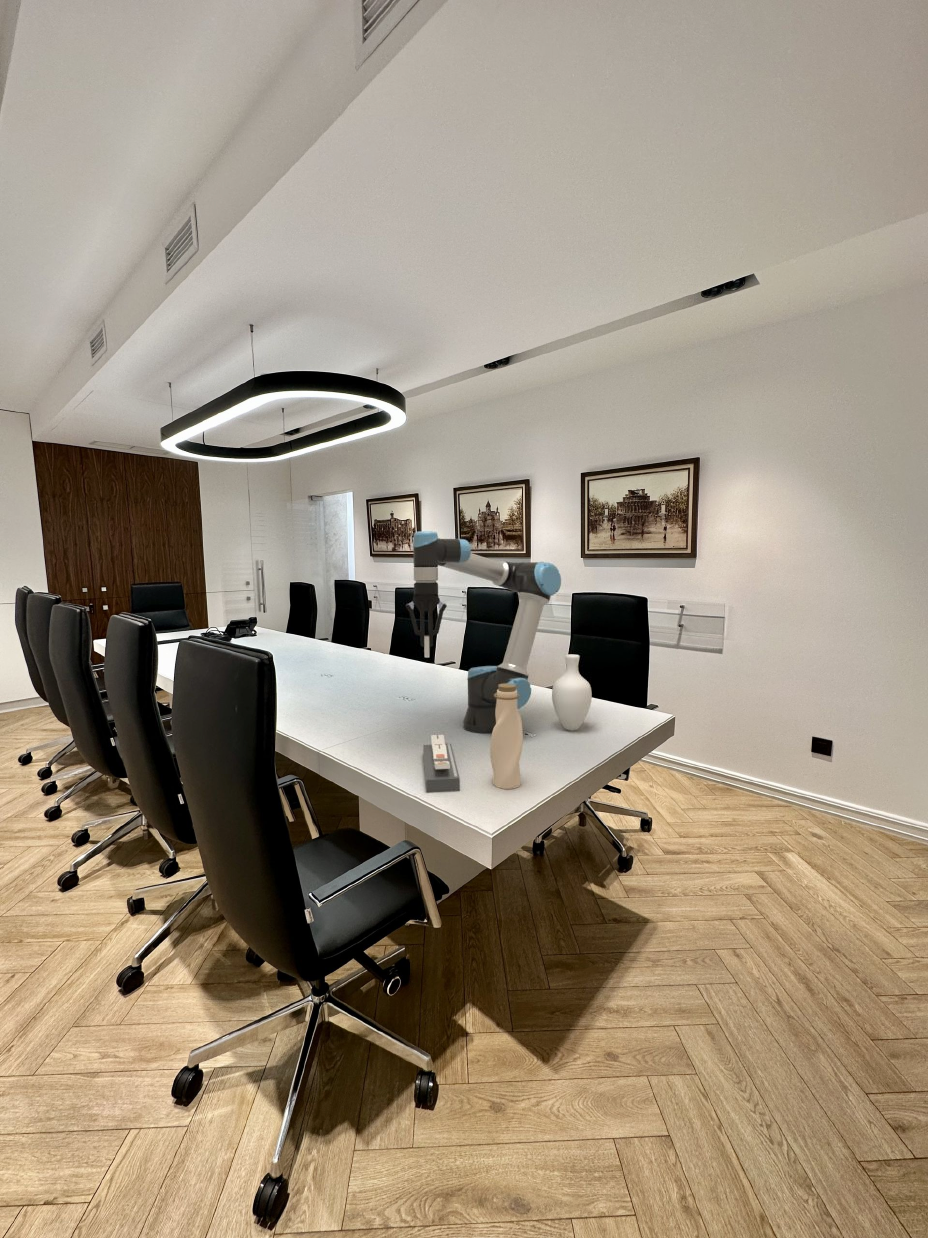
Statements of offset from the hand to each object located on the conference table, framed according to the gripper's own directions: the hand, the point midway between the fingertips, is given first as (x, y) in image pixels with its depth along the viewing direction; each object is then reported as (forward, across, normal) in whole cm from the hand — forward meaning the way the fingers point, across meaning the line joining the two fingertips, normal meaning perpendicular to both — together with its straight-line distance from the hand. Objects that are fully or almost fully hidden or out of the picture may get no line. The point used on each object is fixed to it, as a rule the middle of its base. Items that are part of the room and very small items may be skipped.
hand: (426, 656), depth 164 cm
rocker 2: (+27, -3, +13) cm, 30 cm away
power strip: (+32, -3, +9) cm, 34 cm away
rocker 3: (+27, -3, +22) cm, 35 cm away
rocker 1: (+27, -3, +4) cm, 27 cm away
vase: (+33, -54, -21) cm, 66 cm away
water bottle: (+33, -21, +23) cm, 45 cm away
